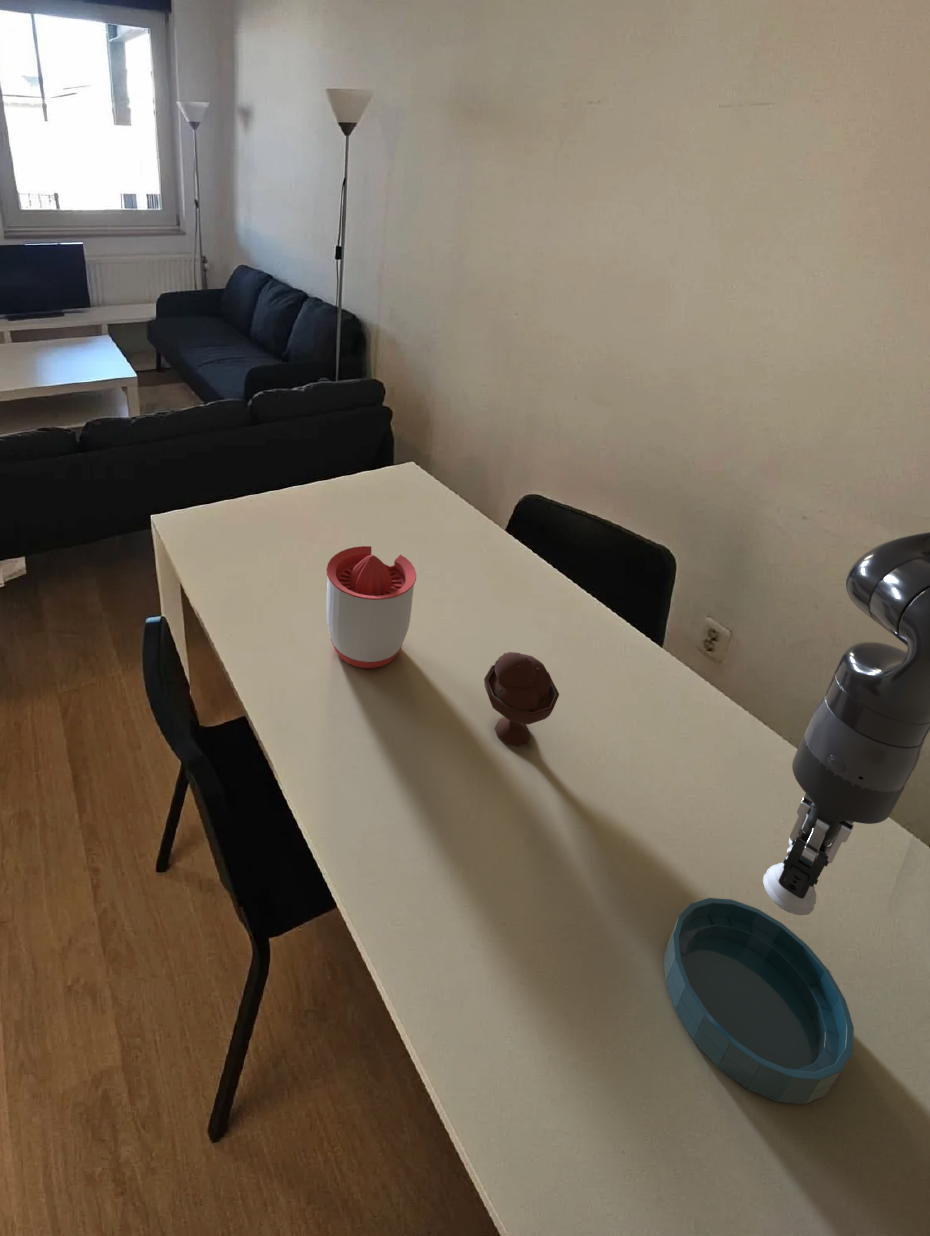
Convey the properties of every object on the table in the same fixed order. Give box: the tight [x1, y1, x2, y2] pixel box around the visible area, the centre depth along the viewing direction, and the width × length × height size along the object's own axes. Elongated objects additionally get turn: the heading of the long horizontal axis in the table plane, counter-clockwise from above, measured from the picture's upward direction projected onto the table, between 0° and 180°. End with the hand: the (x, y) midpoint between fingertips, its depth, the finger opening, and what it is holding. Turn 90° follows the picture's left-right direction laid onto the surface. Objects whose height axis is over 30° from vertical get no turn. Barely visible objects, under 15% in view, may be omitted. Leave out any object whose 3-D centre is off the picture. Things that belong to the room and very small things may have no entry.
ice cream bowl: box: [483, 651, 560, 747], centre depth 100 cm, size 11×11×15 cm
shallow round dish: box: [663, 897, 855, 1105], centre depth 69 cm, size 16×16×5 cm
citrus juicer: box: [325, 545, 417, 669], centre depth 116 cm, size 16×17×20 cm
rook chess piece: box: [762, 831, 825, 916], centre depth 65 cm, size 4×4×8 cm
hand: (797, 875), depth 65 cm, fingers closed on rook chess piece, 3 cm apart
